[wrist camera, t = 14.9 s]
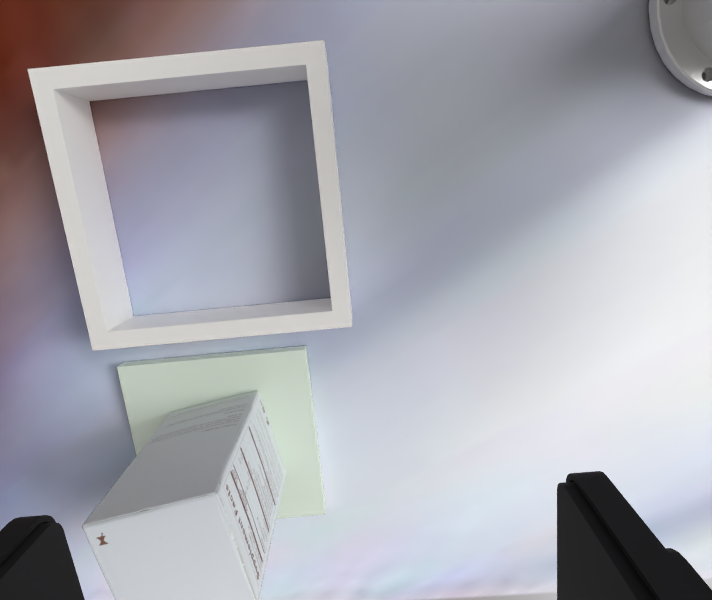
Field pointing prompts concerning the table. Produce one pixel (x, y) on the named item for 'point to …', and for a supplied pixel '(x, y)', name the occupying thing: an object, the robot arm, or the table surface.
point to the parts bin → (93, 209)
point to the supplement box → (193, 507)
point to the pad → (231, 378)
